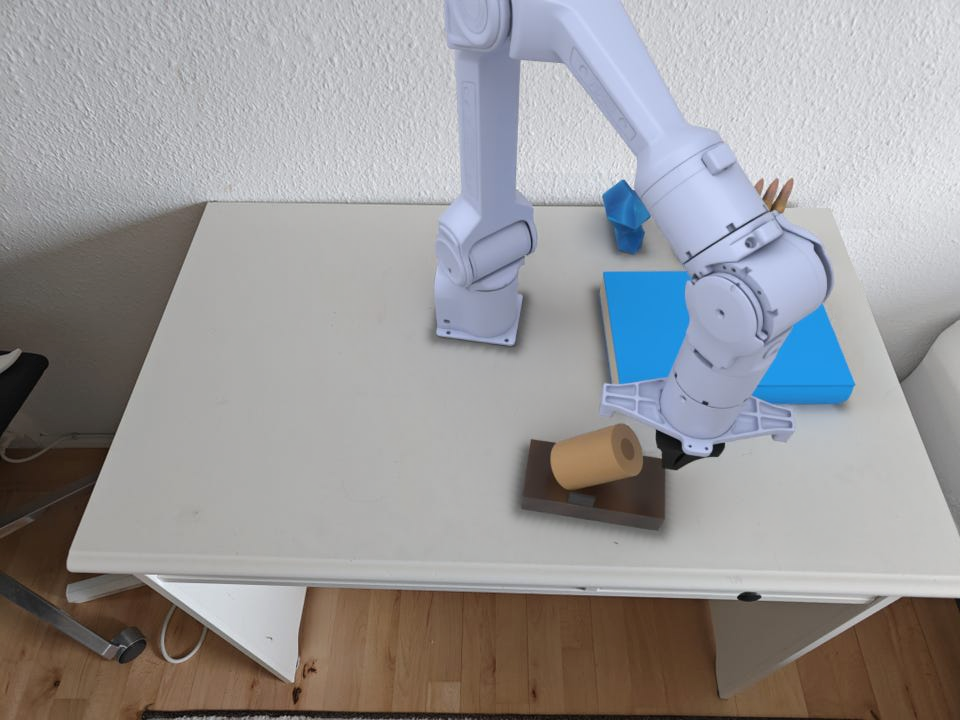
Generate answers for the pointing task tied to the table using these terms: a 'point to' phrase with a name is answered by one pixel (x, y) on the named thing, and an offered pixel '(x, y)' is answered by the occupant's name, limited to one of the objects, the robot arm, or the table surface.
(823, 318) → the book
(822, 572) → the table surface
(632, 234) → the crystal
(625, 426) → the towel roll
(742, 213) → the robot arm
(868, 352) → the table surface
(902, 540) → the table surface
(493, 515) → the table surface
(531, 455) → the stand
